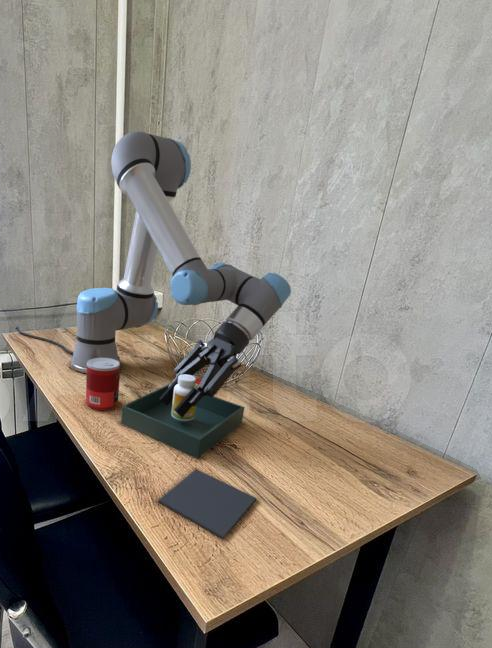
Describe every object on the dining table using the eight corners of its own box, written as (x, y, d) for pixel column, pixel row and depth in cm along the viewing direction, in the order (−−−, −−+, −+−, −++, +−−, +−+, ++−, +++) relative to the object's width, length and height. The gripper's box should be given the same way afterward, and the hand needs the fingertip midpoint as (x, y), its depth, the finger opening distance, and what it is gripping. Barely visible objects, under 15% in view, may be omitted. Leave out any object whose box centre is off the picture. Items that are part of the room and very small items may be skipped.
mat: (158, 502, 66) (158, 499, 66) (195, 471, 75) (195, 469, 75) (223, 539, 60) (223, 536, 59) (255, 500, 68) (256, 498, 68)
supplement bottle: (197, 421, 90) (202, 382, 87) (174, 422, 89) (178, 382, 86) (190, 410, 95) (195, 372, 91) (168, 411, 94) (172, 372, 91)
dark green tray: (121, 423, 91) (122, 406, 89) (171, 397, 106) (172, 382, 104) (197, 458, 79) (200, 439, 78) (241, 423, 94) (244, 407, 93)
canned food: (121, 409, 97) (123, 367, 93) (88, 412, 95) (89, 369, 91) (114, 396, 104) (115, 356, 100) (83, 398, 102) (84, 358, 98)
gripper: (274, 354, 86) (203, 435, 84) (218, 330, 101) (157, 399, 99) (260, 332, 81) (186, 417, 80) (204, 311, 96) (140, 383, 94)
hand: (170, 407), depth 89 cm, fingers closed on supplement bottle, 5 cm apart
